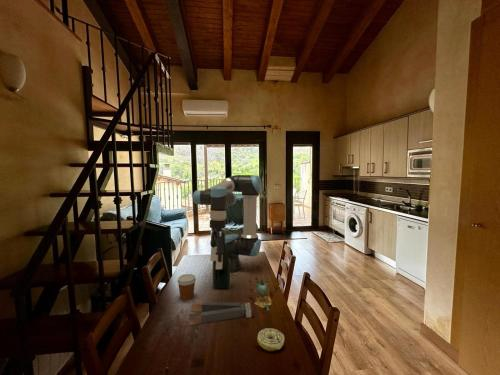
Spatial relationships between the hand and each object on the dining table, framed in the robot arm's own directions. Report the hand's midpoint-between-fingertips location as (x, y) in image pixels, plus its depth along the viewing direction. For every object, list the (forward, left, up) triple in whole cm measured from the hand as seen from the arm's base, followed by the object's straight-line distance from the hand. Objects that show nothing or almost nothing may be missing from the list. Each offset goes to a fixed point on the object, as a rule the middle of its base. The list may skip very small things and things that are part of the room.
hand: (215, 264), depth 115 cm
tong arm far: (0, +1, -23) cm, 23 cm away
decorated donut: (+22, +22, -25) cm, 40 cm away
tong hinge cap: (+3, +15, -23) cm, 28 cm away
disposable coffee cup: (-14, -16, -24) cm, 32 cm away
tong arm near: (+7, +1, -23) cm, 24 cm away
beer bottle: (-26, +2, -24) cm, 35 cm away
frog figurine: (-6, +23, -24) cm, 34 cm away
